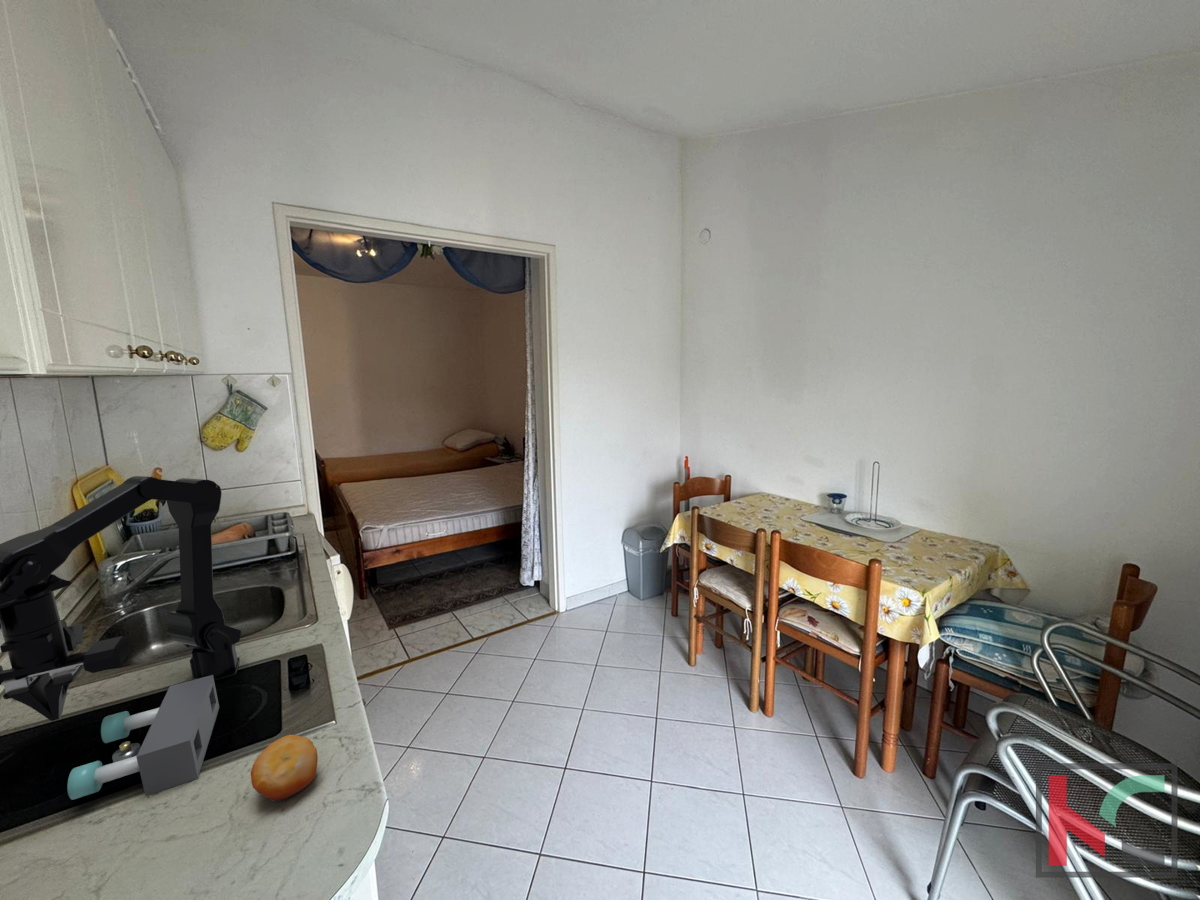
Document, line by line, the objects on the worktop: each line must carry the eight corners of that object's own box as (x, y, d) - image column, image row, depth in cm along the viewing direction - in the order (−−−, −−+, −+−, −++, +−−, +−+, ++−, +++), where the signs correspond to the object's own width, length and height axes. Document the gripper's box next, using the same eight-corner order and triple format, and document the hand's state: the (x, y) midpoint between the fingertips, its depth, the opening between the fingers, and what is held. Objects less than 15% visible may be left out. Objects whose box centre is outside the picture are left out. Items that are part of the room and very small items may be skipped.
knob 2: (162, 760, 76) (157, 737, 75) (155, 778, 73) (149, 754, 72) (83, 785, 72) (77, 761, 71) (71, 806, 69) (64, 781, 68)
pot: (146, 753, 80) (141, 733, 79) (140, 767, 77) (135, 746, 76) (119, 762, 78) (114, 741, 77) (112, 776, 75) (107, 755, 75)
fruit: (306, 742, 79) (308, 716, 75) (323, 789, 75) (325, 765, 71) (245, 772, 73) (243, 746, 69) (259, 825, 69) (258, 801, 65)
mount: (219, 707, 90) (213, 674, 89) (197, 778, 74) (189, 740, 73) (176, 719, 87) (169, 686, 86) (145, 796, 72) (136, 756, 70)
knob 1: (181, 713, 87) (177, 692, 86) (176, 727, 83) (171, 706, 82) (113, 732, 82) (108, 711, 82) (104, 748, 79) (99, 726, 78)
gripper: (132, 589, 86) (150, 671, 89) (-28, 619, 77) (-2, 709, 80) (108, 617, 76) (129, 708, 79) (-77, 656, 67) (-46, 756, 70)
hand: (56, 718), depth 77 cm, fingers closed
